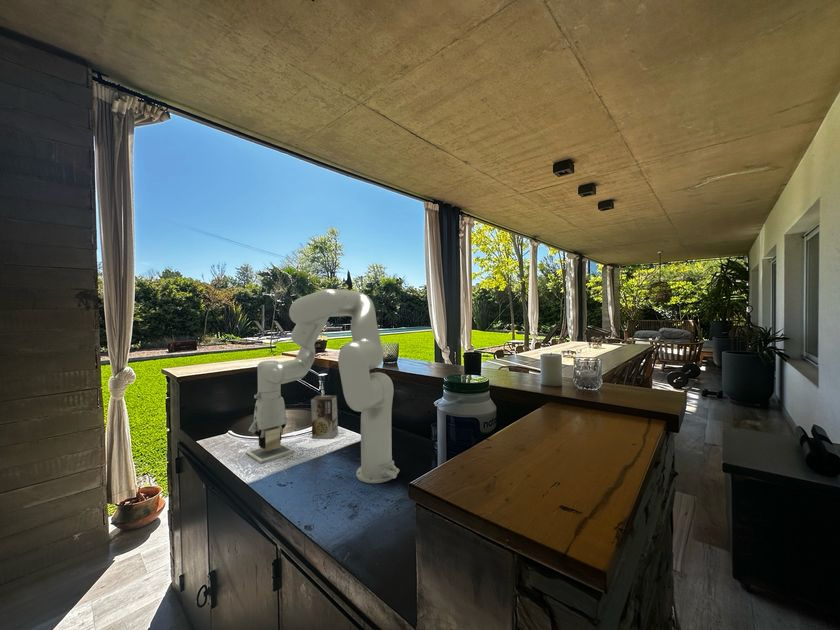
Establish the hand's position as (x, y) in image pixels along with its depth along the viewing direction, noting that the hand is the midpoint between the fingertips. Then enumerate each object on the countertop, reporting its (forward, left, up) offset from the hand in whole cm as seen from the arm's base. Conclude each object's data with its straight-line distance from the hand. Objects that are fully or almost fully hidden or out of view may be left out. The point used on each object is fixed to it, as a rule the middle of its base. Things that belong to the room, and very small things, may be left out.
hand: (270, 444), depth 124 cm
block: (0, 0, -1) cm, 1 cm away
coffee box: (0, -23, -3) cm, 23 cm away
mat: (0, 0, -3) cm, 3 cm away
